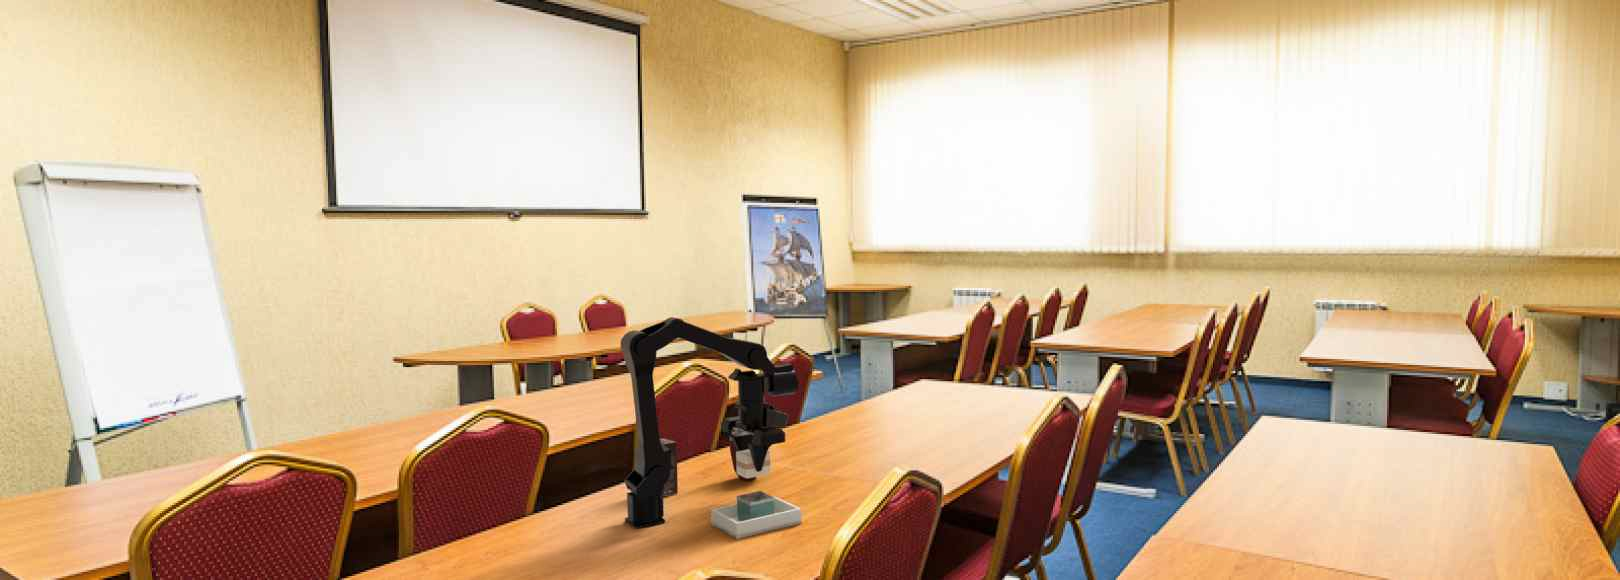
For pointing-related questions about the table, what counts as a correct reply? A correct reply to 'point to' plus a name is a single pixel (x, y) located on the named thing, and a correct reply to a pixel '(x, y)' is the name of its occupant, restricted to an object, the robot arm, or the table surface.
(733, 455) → the mug
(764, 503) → the tin
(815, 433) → the table surface
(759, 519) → the tote
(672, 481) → the box
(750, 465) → the carton
